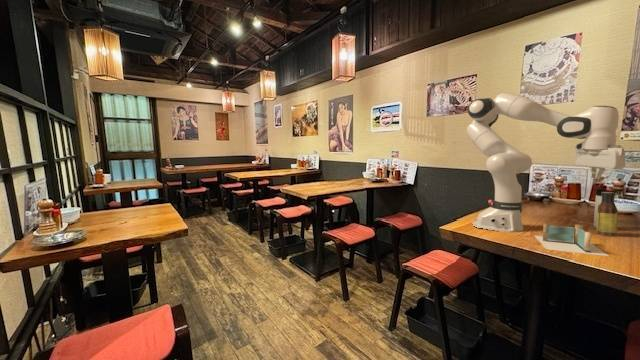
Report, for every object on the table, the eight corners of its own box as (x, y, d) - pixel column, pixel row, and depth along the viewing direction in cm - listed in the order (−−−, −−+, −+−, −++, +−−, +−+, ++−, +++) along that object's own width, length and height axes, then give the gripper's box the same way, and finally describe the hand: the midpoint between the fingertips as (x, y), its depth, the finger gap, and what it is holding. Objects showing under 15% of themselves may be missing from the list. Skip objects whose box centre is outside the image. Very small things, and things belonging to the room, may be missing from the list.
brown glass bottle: (588, 227, 131) (591, 188, 129) (602, 226, 131) (605, 187, 129) (601, 230, 125) (604, 189, 123) (615, 230, 125) (619, 189, 123)
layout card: (546, 250, 104) (546, 249, 104) (533, 236, 120) (534, 235, 120) (609, 257, 95) (609, 256, 95) (586, 241, 112) (586, 240, 112)
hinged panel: (576, 243, 107) (577, 227, 106) (581, 243, 106) (583, 227, 105) (584, 250, 99) (585, 232, 99) (590, 250, 99) (591, 233, 98)
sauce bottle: (620, 237, 115) (624, 193, 113) (603, 236, 116) (607, 193, 114) (607, 233, 122) (611, 191, 120) (591, 232, 123) (594, 191, 121)
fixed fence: (543, 241, 112) (544, 223, 111) (541, 239, 114) (542, 222, 114) (582, 245, 106) (584, 226, 106) (580, 243, 108) (581, 224, 108)
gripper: (633, 144, 97) (629, 181, 99) (588, 145, 117) (584, 175, 119) (614, 145, 98) (609, 181, 100) (572, 145, 118) (569, 175, 120)
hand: (595, 178), depth 109 cm, fingers closed
